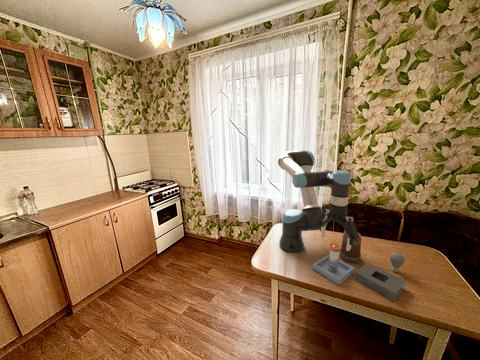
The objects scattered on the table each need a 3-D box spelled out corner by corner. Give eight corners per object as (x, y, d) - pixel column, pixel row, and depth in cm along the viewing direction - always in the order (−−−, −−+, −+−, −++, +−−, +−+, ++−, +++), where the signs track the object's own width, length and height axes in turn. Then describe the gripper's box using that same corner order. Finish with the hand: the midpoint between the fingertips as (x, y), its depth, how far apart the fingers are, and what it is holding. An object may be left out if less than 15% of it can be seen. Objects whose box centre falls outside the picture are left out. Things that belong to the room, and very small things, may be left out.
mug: (363, 264, 106) (366, 239, 102) (342, 262, 108) (344, 237, 105) (353, 247, 121) (356, 225, 117) (335, 246, 123) (337, 224, 119)
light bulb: (400, 268, 102) (403, 251, 99) (404, 276, 96) (407, 258, 94) (386, 266, 104) (388, 249, 102) (389, 273, 99) (392, 255, 96)
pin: (331, 265, 104) (333, 242, 101) (339, 270, 101) (341, 246, 98) (326, 269, 102) (328, 245, 99) (334, 274, 99) (336, 249, 95)
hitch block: (354, 279, 96) (355, 272, 95) (366, 269, 102) (367, 262, 101) (394, 301, 83) (395, 293, 82) (404, 288, 89) (406, 281, 88)
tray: (312, 269, 104) (312, 264, 103) (328, 259, 111) (328, 254, 110) (338, 285, 92) (338, 280, 92) (353, 273, 100) (354, 268, 99)
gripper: (311, 198, 101) (308, 235, 106) (363, 214, 81) (357, 259, 86) (320, 195, 105) (317, 231, 110) (371, 209, 85) (365, 252, 90)
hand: (334, 243), depth 98 cm, fingers open, 13 cm apart
